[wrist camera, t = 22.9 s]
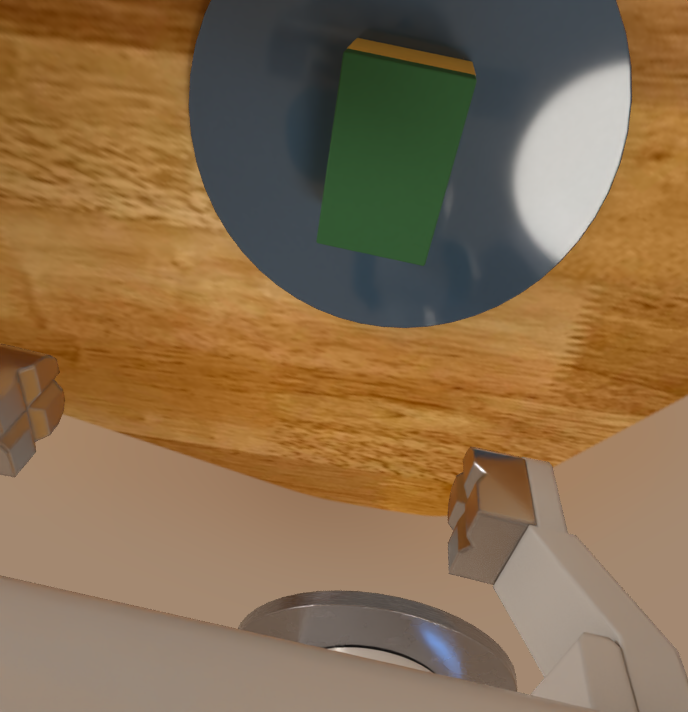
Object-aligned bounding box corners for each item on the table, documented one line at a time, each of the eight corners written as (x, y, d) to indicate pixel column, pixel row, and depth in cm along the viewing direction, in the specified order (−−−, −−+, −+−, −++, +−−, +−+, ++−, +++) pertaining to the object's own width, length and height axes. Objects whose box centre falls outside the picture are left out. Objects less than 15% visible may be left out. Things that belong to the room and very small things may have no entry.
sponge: (426, 231, 25) (424, 267, 22) (329, 210, 25) (315, 243, 22) (472, 61, 21) (477, 79, 18) (356, 37, 21) (342, 51, 18)
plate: (529, 351, 29) (531, 360, 28) (196, 280, 29) (191, 288, 29) (726, -81, 18) (736, -82, 17) (192, -184, 18) (183, -189, 18)
